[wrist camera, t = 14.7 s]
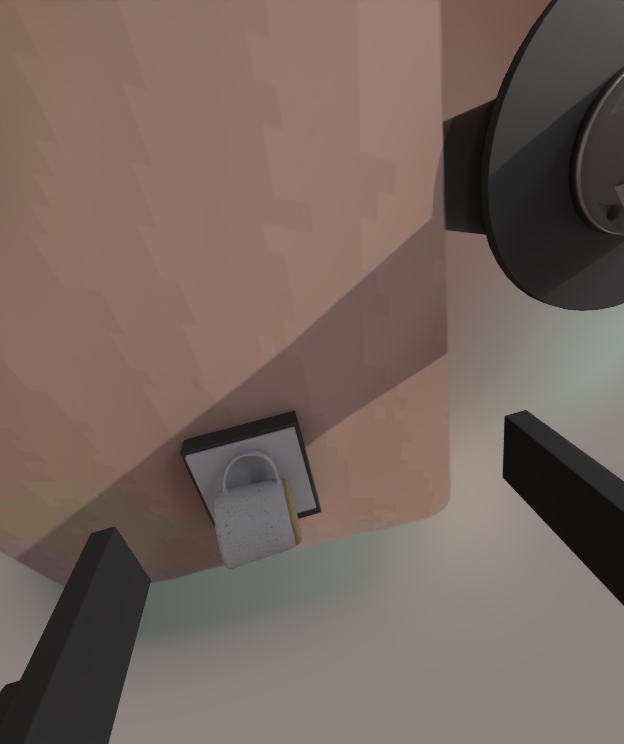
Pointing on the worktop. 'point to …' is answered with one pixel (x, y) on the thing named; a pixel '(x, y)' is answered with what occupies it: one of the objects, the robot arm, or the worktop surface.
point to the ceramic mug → (255, 517)
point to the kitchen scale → (252, 460)
